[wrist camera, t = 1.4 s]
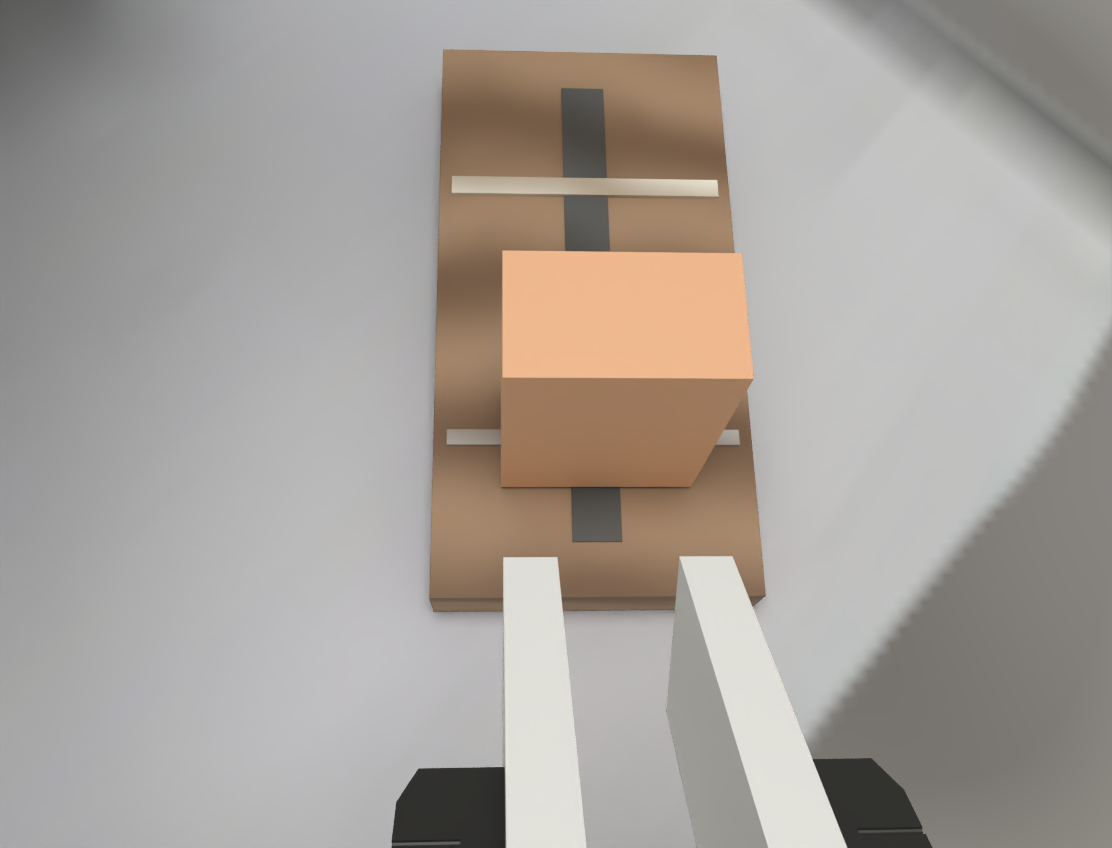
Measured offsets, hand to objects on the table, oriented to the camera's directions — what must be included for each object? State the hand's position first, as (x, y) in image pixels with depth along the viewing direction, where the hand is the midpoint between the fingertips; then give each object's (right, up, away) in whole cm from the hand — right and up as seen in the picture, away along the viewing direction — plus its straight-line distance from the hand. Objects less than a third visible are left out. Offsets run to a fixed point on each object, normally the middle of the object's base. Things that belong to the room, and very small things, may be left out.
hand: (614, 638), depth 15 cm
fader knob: (+1, +3, +24) cm, 24 cm away
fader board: (0, +7, +29) cm, 30 cm away
